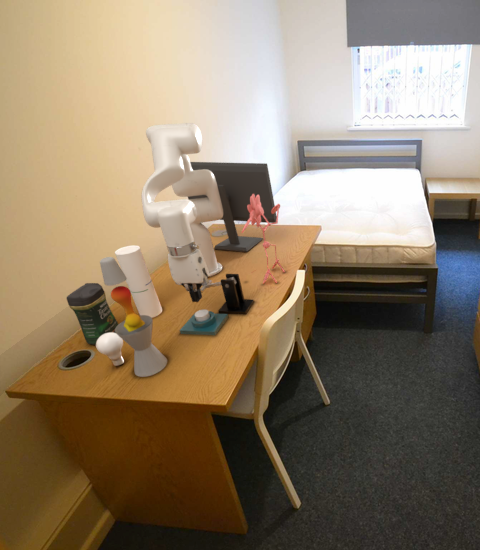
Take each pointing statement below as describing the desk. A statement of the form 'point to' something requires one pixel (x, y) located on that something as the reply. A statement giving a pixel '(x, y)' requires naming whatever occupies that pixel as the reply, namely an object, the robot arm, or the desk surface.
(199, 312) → the flush button
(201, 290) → the flush lever
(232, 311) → the lever bracket
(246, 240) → the computer monitor
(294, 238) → the desk surface
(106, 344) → the lightbulb
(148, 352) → the lava lamp
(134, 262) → the cylindrical container
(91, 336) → the coffee jar
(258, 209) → the figurine
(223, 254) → the desk surface
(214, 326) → the plate
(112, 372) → the desk surface
